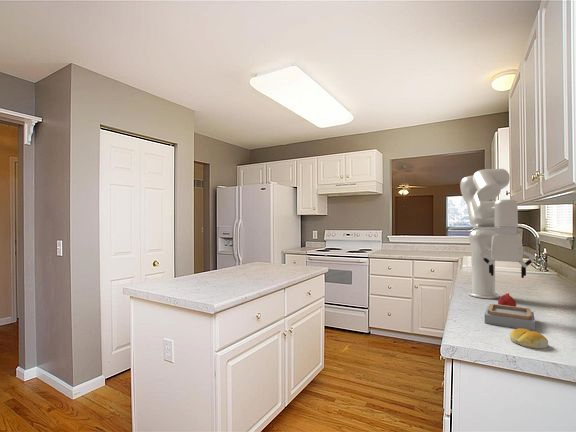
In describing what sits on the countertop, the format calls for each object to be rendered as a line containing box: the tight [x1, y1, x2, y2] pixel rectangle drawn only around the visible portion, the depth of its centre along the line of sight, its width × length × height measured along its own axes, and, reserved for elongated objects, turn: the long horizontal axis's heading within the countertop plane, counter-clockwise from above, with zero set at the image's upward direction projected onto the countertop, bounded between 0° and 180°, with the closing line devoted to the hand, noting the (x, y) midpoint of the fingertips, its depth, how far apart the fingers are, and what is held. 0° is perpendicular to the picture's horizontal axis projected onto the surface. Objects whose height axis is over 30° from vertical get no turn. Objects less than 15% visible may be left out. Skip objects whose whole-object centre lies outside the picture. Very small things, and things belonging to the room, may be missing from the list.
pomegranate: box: [497, 292, 517, 307], centre depth 125 cm, size 6×6×8 cm
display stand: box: [484, 303, 536, 332], centre depth 115 cm, size 14×14×4 cm
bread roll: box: [509, 328, 549, 350], centre depth 95 cm, size 8×9×4 cm
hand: (507, 276), depth 124 cm, fingers open, 9 cm apart
